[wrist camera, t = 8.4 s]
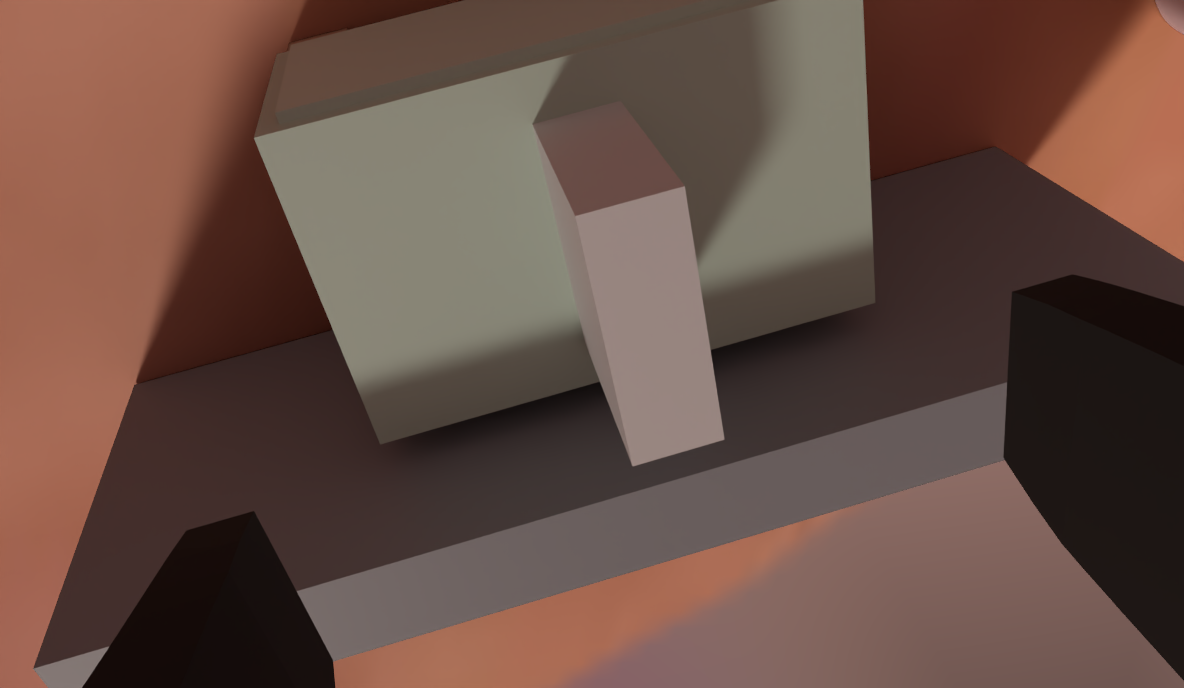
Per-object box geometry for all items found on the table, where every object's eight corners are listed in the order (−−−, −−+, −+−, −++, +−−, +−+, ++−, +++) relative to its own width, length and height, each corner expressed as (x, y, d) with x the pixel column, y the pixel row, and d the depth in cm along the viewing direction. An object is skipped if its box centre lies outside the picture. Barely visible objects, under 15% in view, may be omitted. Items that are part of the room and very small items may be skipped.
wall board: (168, 443, 20) (86, 735, 14) (58, 250, 17) (-97, 506, 11) (993, 210, 21) (1241, 389, 15) (1001, -1, 18) (1300, 114, 13)
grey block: (375, 291, 19) (384, 586, 12) (278, 30, 16) (220, 226, 9) (764, 184, 19) (976, 410, 13) (735, -88, 17) (989, 18, 10)
